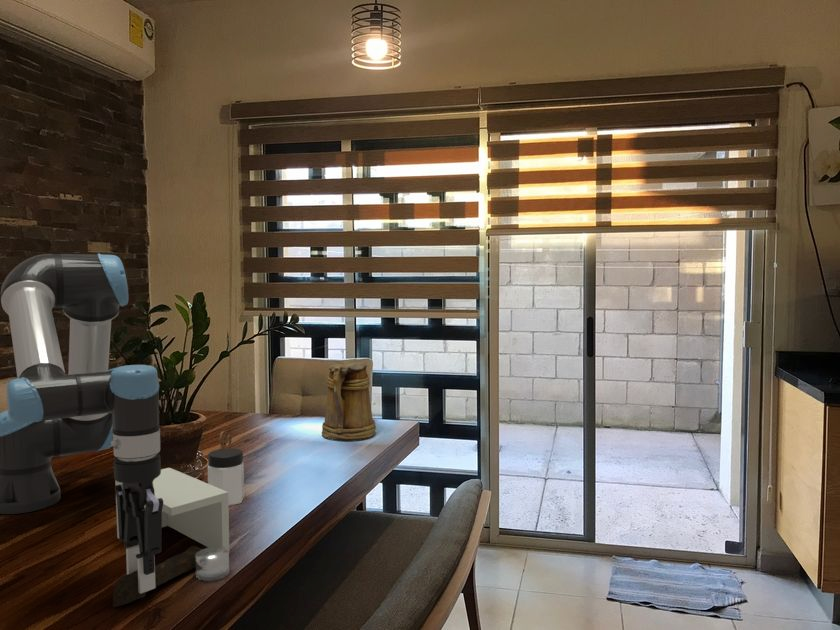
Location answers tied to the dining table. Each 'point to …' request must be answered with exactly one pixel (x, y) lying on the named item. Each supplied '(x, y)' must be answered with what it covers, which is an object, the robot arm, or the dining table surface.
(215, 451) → the jar
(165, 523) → the low shelf
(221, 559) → the steel puck
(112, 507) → the dining table surface
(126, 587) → the hand tool
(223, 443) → the gingerbread man figurine
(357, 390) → the tankard
